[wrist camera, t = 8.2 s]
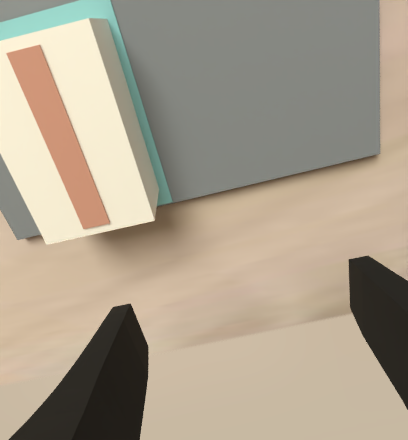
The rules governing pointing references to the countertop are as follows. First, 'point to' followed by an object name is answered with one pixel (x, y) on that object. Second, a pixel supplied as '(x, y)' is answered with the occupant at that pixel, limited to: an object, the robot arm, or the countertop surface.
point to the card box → (73, 132)
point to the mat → (229, 86)
